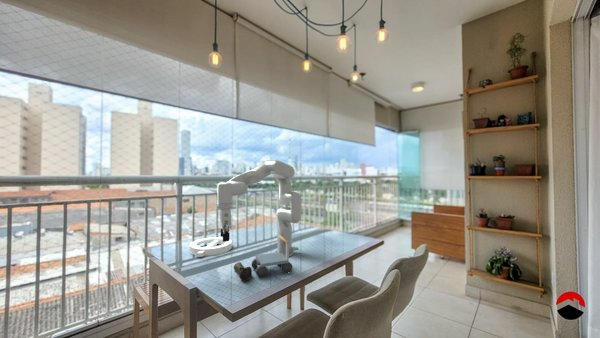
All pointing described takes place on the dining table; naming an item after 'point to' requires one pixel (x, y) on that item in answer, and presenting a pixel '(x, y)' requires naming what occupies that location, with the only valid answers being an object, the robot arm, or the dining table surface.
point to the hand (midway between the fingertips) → (224, 238)
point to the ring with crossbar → (210, 246)
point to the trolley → (272, 261)
